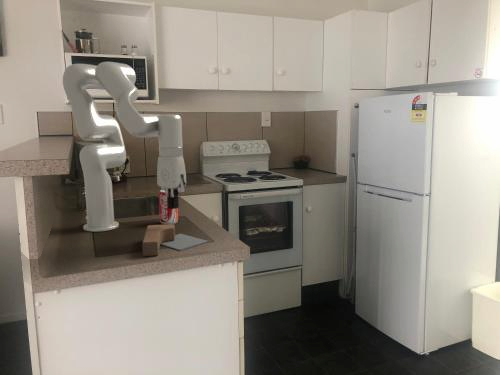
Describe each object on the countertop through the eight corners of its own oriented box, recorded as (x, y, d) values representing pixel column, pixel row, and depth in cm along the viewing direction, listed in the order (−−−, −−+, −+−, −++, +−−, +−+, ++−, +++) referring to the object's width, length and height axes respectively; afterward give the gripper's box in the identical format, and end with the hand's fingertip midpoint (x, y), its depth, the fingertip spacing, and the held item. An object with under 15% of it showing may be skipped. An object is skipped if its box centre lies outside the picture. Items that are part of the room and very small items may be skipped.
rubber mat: (152, 242, 137) (152, 241, 137) (180, 234, 146) (180, 233, 146) (179, 250, 128) (179, 249, 128) (208, 242, 137) (208, 241, 137)
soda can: (169, 219, 168) (167, 188, 166) (182, 222, 164) (180, 190, 162) (155, 223, 162) (154, 190, 160) (168, 226, 158) (167, 192, 156)
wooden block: (174, 223, 141) (173, 240, 123) (175, 236, 142) (173, 254, 124) (147, 225, 139) (142, 242, 122) (148, 237, 140) (142, 256, 123)
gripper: (147, 152, 136) (150, 207, 139) (176, 154, 127) (178, 213, 130) (166, 151, 142) (168, 203, 145) (195, 153, 132) (196, 209, 135)
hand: (173, 208), depth 137 cm, fingers closed
